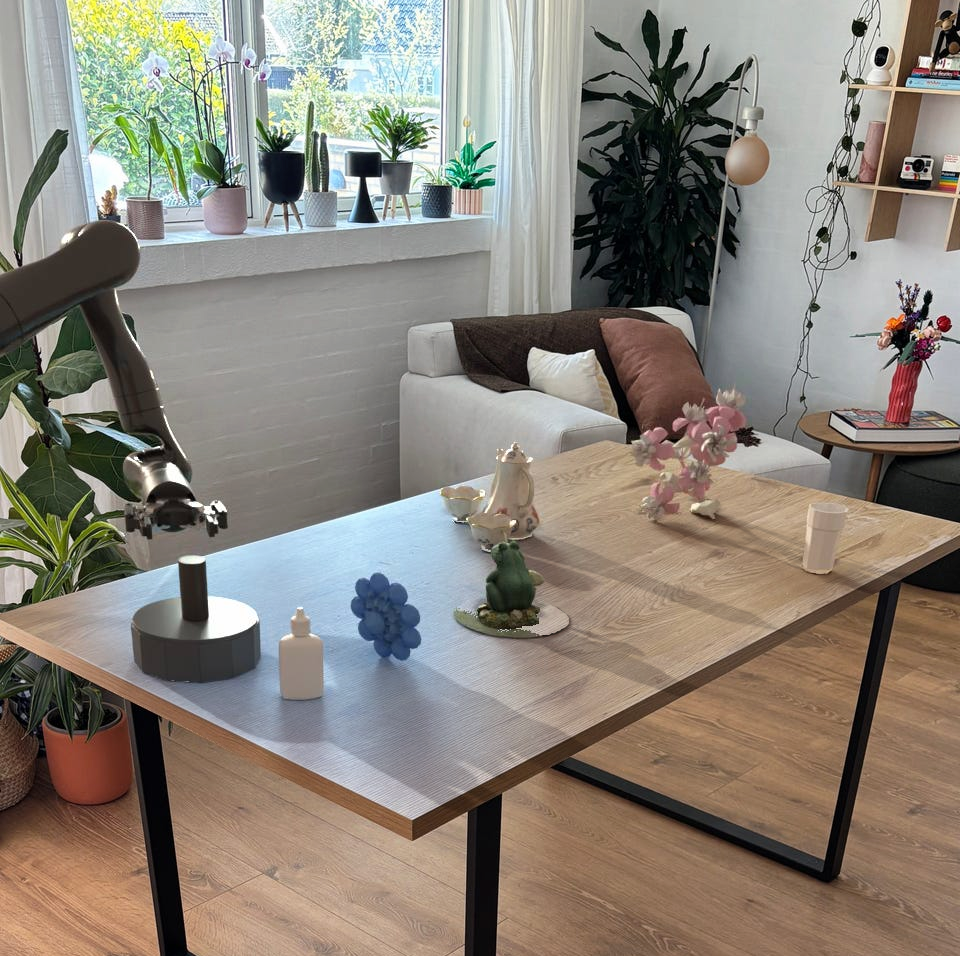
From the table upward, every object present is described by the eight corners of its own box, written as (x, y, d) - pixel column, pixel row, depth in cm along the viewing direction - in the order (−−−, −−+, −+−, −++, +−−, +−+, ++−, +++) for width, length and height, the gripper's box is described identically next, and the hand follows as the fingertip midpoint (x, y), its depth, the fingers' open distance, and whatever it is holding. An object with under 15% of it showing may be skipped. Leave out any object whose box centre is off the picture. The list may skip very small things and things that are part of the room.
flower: (619, 484, 264) (625, 379, 243) (731, 479, 263) (746, 373, 242) (627, 554, 253) (634, 450, 232) (743, 548, 252) (760, 444, 231)
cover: (121, 678, 172) (111, 576, 165) (153, 632, 186) (145, 537, 179) (246, 686, 172) (242, 584, 165) (268, 640, 186) (265, 544, 179)
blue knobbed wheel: (333, 656, 182) (332, 573, 176) (361, 642, 187) (362, 561, 181) (401, 676, 177) (403, 592, 171) (429, 661, 182) (431, 579, 176)
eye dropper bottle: (287, 685, 173) (285, 599, 167) (327, 692, 172) (326, 605, 166) (275, 698, 169) (272, 610, 163) (316, 704, 168) (315, 616, 162)
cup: (844, 573, 227) (856, 510, 221) (816, 578, 223) (828, 514, 218) (816, 561, 231) (828, 500, 226) (789, 566, 228) (800, 504, 223)
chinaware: (426, 522, 244) (420, 433, 235) (507, 508, 249) (504, 420, 240) (483, 570, 223) (479, 473, 213) (571, 553, 228) (570, 458, 219)
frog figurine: (536, 592, 210) (541, 521, 204) (590, 631, 196) (598, 556, 190) (435, 603, 203) (437, 530, 197) (484, 644, 189) (488, 567, 183)
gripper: (117, 474, 189) (126, 506, 176) (215, 472, 193) (231, 503, 180) (121, 525, 193) (130, 560, 180) (218, 522, 197) (233, 555, 184)
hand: (181, 531), depth 180 cm, fingers open, 8 cm apart
